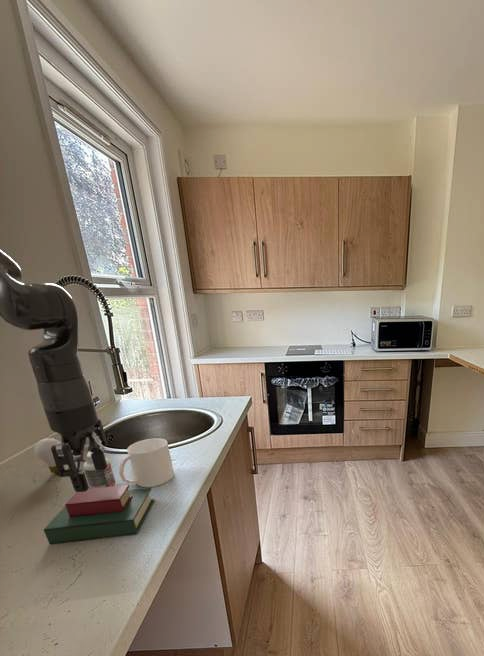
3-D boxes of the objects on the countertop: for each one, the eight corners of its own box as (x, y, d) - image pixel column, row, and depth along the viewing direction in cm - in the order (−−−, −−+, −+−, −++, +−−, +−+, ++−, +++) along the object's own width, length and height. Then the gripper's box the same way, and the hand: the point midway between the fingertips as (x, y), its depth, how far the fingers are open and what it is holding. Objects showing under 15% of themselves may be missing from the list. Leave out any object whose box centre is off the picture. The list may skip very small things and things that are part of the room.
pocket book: (69, 517, 69) (64, 504, 68) (82, 501, 74) (78, 489, 73) (123, 511, 70) (119, 499, 69) (132, 496, 75) (129, 484, 74)
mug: (168, 466, 95) (161, 435, 92) (179, 479, 89) (171, 446, 85) (120, 481, 89) (110, 448, 85) (127, 496, 82) (117, 461, 78)
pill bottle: (115, 491, 84) (104, 455, 80) (89, 496, 82) (77, 460, 78) (117, 480, 89) (107, 446, 85) (93, 486, 87) (81, 450, 83)
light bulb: (41, 480, 90) (27, 445, 86) (47, 470, 95) (34, 437, 91) (68, 475, 92) (56, 441, 88) (72, 466, 97) (61, 433, 93)
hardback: (49, 544, 67) (43, 529, 66) (79, 508, 78) (74, 495, 77) (137, 534, 69) (133, 519, 68) (154, 500, 80) (151, 487, 79)
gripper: (66, 392, 69) (88, 464, 76) (20, 416, 56) (52, 501, 63) (106, 390, 70) (125, 461, 77) (70, 413, 57) (97, 497, 64)
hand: (92, 479), depth 70 cm, fingers open, 8 cm apart
